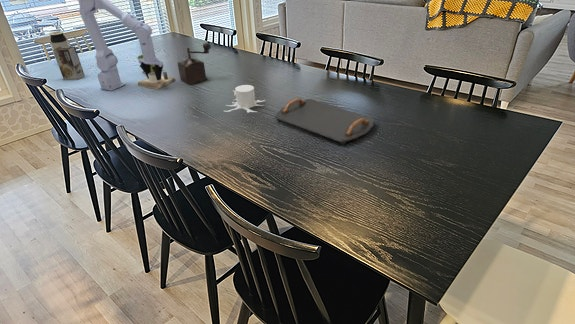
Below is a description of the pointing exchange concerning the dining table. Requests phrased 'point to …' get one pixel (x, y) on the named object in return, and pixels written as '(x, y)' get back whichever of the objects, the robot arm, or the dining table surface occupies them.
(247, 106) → the tree stump
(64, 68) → the coffee box
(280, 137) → the dining table surface
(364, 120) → the serving board
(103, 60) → the robot arm
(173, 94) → the dining table surface
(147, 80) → the pin board
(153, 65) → the plant pot
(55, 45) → the travel mug
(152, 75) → the sleeve
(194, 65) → the manual coffee grinder
